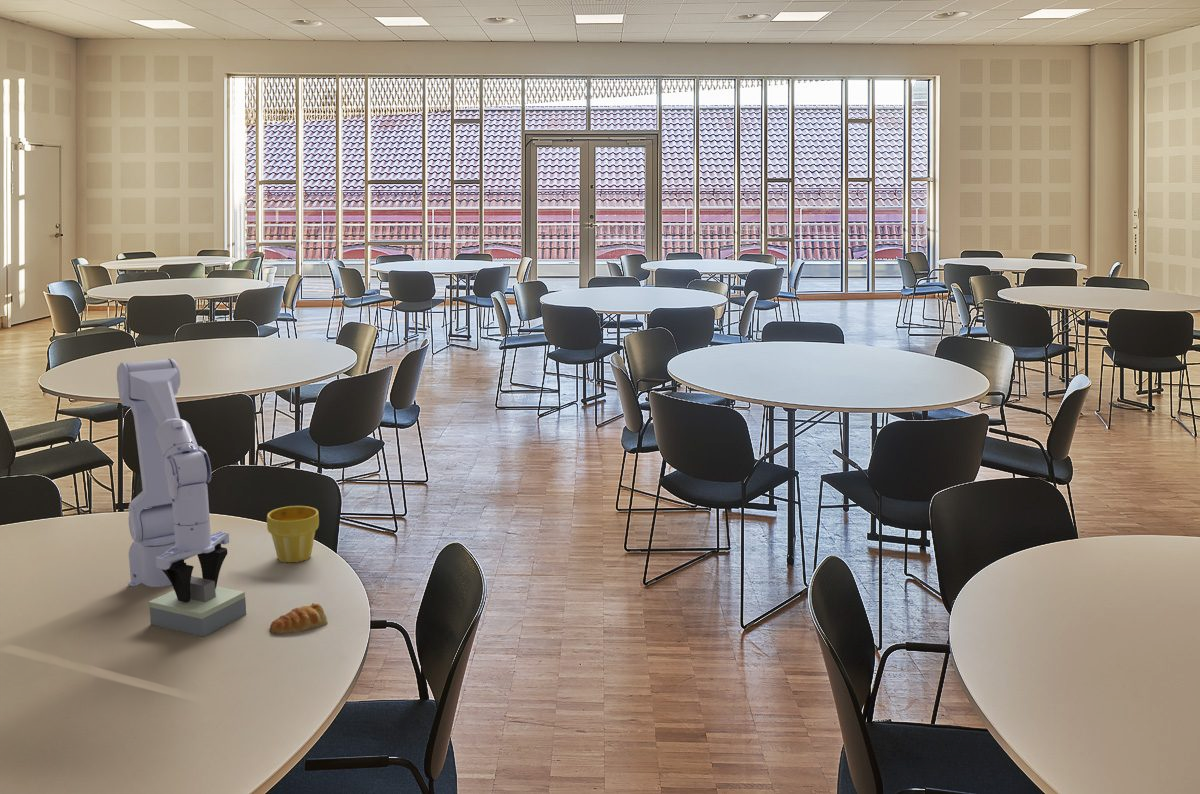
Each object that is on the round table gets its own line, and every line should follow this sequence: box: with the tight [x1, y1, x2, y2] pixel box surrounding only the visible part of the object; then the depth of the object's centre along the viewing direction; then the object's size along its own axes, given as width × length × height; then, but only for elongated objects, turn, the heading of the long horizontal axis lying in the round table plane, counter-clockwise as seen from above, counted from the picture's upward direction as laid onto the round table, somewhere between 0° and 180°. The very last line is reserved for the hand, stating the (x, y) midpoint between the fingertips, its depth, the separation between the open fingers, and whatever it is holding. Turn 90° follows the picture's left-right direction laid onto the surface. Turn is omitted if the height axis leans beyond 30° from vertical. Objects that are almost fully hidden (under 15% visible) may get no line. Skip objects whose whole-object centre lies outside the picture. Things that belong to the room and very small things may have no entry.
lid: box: [148, 575, 246, 619], centre depth 167 cm, size 12×10×5 cm
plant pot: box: [266, 505, 320, 564], centre depth 200 cm, size 10×10×10 cm
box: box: [148, 597, 247, 638], centre depth 168 cm, size 12×10×4 cm
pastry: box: [269, 603, 329, 635], centre depth 167 cm, size 9×7×4 cm
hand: (197, 594), depth 168 cm, fingers open, 5 cm apart
